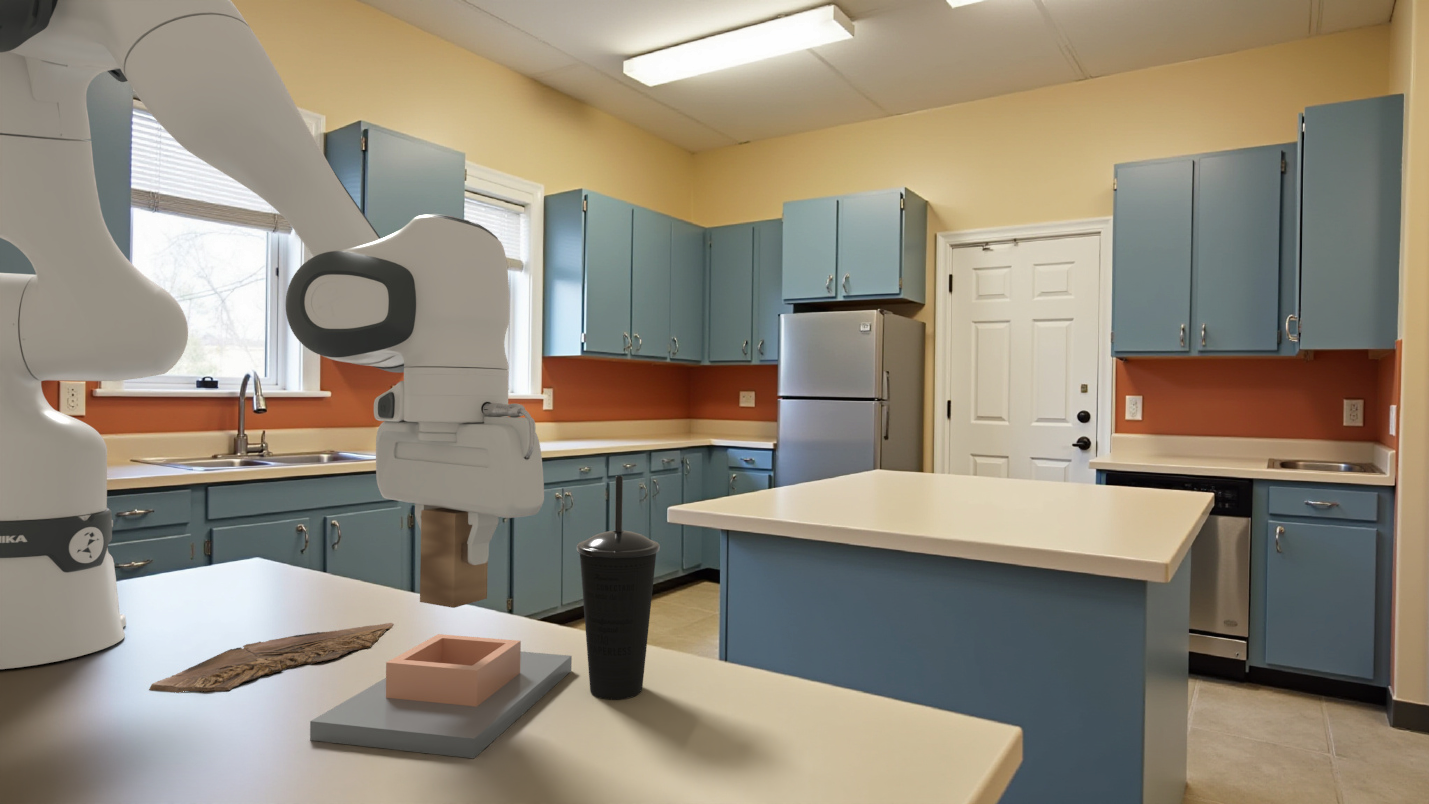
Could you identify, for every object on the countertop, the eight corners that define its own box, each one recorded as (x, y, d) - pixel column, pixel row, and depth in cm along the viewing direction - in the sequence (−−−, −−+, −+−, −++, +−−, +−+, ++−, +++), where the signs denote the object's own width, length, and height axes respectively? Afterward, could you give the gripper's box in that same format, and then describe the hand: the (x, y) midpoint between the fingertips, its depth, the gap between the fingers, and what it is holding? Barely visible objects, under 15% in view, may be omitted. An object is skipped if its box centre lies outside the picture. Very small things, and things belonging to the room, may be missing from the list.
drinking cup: (596, 712, 71) (599, 482, 71) (561, 685, 77) (564, 474, 77) (672, 695, 75) (675, 478, 75) (633, 671, 82) (636, 470, 81)
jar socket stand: (310, 740, 65) (310, 683, 64) (442, 659, 84) (443, 615, 84) (473, 758, 62) (474, 699, 62) (571, 670, 81) (572, 625, 81)
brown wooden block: (419, 602, 71) (421, 510, 71) (454, 593, 75) (455, 505, 75) (453, 607, 69) (455, 513, 70) (487, 598, 73) (488, 508, 73)
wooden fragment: (181, 707, 71) (181, 695, 71) (125, 680, 77) (125, 669, 77) (429, 637, 93) (429, 628, 93) (371, 621, 99) (371, 612, 99)
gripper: (563, 403, 68) (561, 569, 68) (424, 401, 81) (422, 540, 81) (500, 403, 63) (498, 582, 63) (363, 400, 76) (361, 549, 76)
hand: (455, 558), depth 72 cm, fingers closed on brown wooden block, 4 cm apart
